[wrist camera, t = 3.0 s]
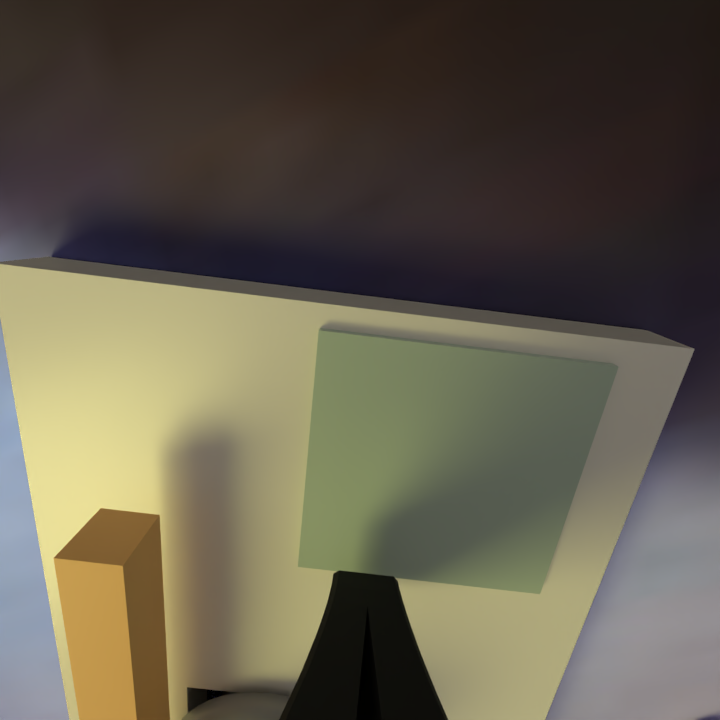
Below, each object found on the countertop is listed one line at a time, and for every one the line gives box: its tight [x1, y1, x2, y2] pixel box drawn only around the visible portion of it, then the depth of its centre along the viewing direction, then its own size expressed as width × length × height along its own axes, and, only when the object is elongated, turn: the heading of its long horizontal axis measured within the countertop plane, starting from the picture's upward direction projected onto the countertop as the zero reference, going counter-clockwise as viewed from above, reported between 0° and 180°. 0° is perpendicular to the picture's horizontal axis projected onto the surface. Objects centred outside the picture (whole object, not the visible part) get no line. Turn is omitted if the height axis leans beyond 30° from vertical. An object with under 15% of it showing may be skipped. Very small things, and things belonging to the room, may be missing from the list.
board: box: [0, 257, 695, 720], centre depth 12 cm, size 14×22×2 cm, turn 173°
